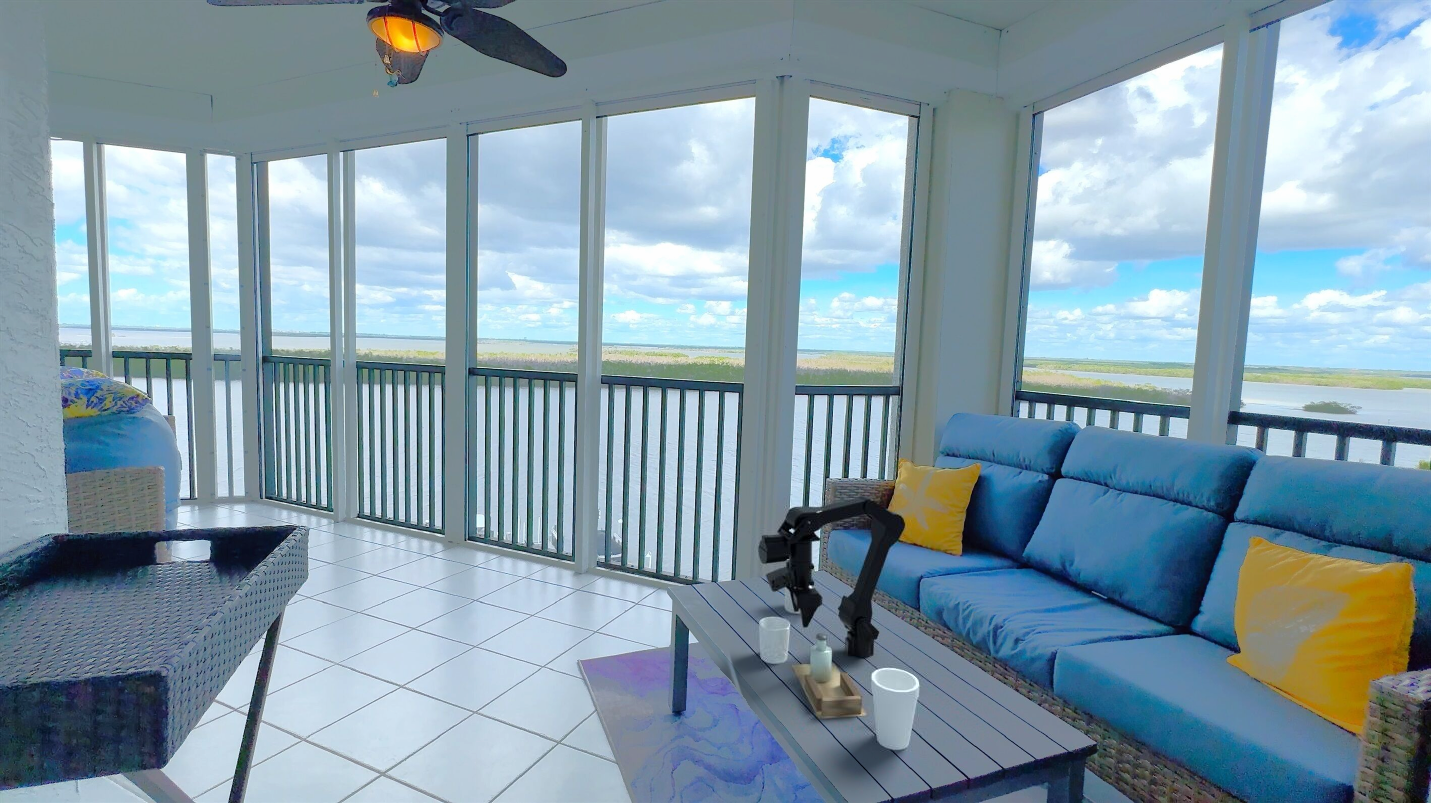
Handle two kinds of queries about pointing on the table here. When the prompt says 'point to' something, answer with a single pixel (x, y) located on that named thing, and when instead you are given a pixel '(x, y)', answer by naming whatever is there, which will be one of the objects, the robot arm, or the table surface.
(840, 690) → the cradle board
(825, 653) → the bottle
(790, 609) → the mug
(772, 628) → the white cup
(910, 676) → the foam cup
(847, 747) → the table surface
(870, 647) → the robot arm
